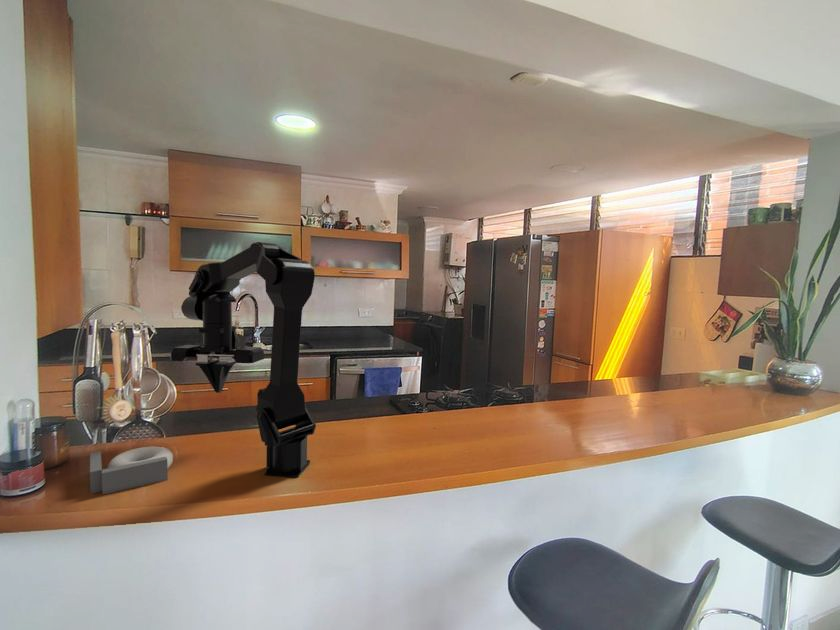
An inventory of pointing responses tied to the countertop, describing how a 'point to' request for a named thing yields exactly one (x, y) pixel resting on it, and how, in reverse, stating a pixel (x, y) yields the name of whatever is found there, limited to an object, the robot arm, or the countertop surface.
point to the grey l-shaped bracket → (125, 474)
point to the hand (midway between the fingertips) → (218, 392)
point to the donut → (141, 456)
